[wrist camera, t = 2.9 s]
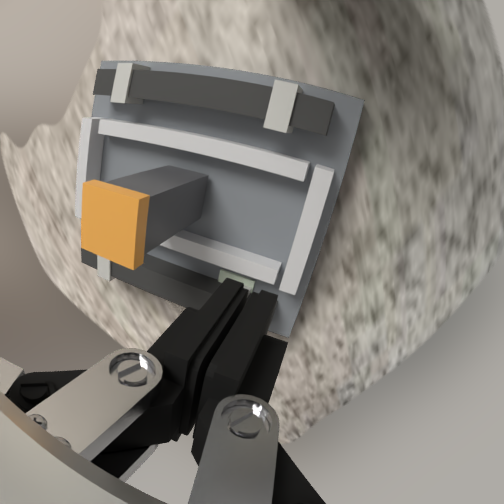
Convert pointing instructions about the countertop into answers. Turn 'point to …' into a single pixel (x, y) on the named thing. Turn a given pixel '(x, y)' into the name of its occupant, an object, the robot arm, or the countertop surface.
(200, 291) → the pair of dark rails
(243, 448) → the robot arm
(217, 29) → the countertop surface
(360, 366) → the countertop surface
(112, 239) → the toggle knob
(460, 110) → the countertop surface
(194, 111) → the breaker panel
